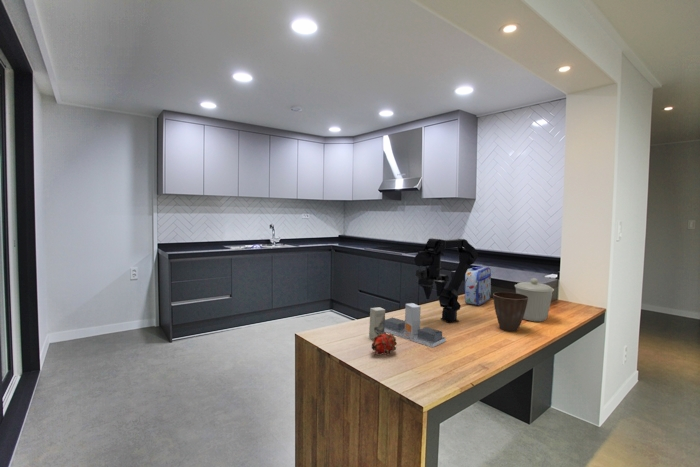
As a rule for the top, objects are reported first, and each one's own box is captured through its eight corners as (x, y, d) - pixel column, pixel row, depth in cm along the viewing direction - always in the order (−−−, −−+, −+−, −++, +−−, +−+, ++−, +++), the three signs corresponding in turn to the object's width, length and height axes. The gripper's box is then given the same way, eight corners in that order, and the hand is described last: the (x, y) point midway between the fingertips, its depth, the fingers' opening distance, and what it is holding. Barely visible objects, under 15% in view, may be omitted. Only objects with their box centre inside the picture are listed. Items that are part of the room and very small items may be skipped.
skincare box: (404, 330, 157) (405, 303, 156) (412, 329, 159) (413, 302, 158) (411, 335, 152) (412, 307, 151) (420, 334, 153) (421, 306, 152)
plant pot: (484, 326, 170) (486, 293, 169) (505, 322, 177) (506, 290, 176) (512, 336, 157) (514, 300, 156) (533, 331, 164) (535, 297, 163)
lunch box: (479, 308, 201) (481, 269, 200) (461, 305, 207) (463, 267, 206) (492, 299, 224) (493, 264, 222) (475, 296, 230) (476, 262, 228)
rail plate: (393, 325, 168) (394, 316, 168) (445, 341, 149) (446, 330, 149) (380, 330, 161) (380, 320, 161) (432, 347, 142) (433, 336, 142)
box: (374, 341, 147) (374, 310, 147) (368, 337, 151) (369, 307, 150) (384, 339, 150) (385, 309, 149) (379, 336, 154) (380, 306, 153)
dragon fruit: (397, 354, 139) (374, 366, 131) (383, 336, 143) (361, 347, 136) (405, 341, 134) (383, 353, 126) (391, 323, 138) (368, 334, 131)
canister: (543, 326, 171) (546, 283, 170) (506, 317, 185) (508, 277, 184) (557, 319, 183) (560, 279, 182) (521, 311, 197) (523, 273, 196)
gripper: (430, 261, 182) (428, 291, 183) (408, 264, 169) (407, 297, 170) (450, 264, 174) (448, 295, 175) (429, 267, 161) (427, 302, 162)
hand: (433, 297), depth 171 cm, fingers open, 9 cm apart
